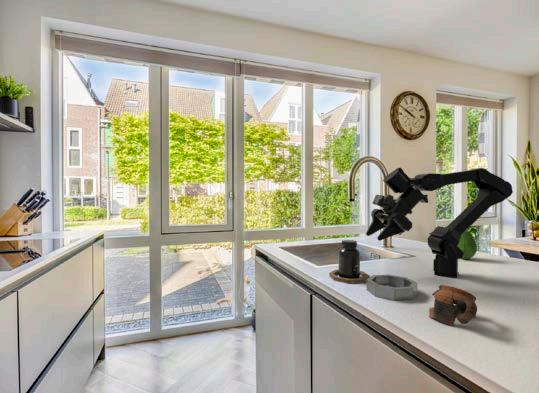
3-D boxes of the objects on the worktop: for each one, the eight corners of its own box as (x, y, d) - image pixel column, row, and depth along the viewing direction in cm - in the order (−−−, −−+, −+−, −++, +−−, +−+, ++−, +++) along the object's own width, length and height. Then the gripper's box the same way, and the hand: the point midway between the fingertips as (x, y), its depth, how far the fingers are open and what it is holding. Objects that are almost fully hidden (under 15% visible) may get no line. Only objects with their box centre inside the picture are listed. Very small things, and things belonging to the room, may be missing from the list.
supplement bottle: (361, 281, 94) (361, 243, 94) (338, 280, 96) (338, 242, 95) (358, 274, 101) (358, 239, 101) (338, 273, 102) (338, 238, 102)
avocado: (449, 258, 124) (449, 229, 123) (461, 256, 127) (461, 227, 127) (469, 262, 116) (469, 231, 116) (481, 260, 120) (481, 230, 119)
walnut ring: (373, 276, 100) (373, 273, 99) (360, 285, 90) (360, 282, 90) (339, 270, 107) (339, 267, 107) (324, 278, 97) (324, 275, 97)
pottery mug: (417, 314, 71) (427, 281, 73) (453, 331, 71) (462, 298, 73) (452, 323, 59) (463, 283, 61) (495, 344, 59) (505, 303, 61)
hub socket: (420, 290, 86) (420, 279, 86) (409, 303, 76) (409, 291, 76) (376, 282, 93) (376, 272, 93) (361, 293, 83) (361, 282, 83)
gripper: (376, 186, 108) (346, 217, 107) (402, 185, 89) (366, 223, 89) (397, 208, 108) (367, 238, 108) (428, 212, 90) (392, 249, 89)
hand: (372, 237), depth 99 cm, fingers open, 9 cm apart
